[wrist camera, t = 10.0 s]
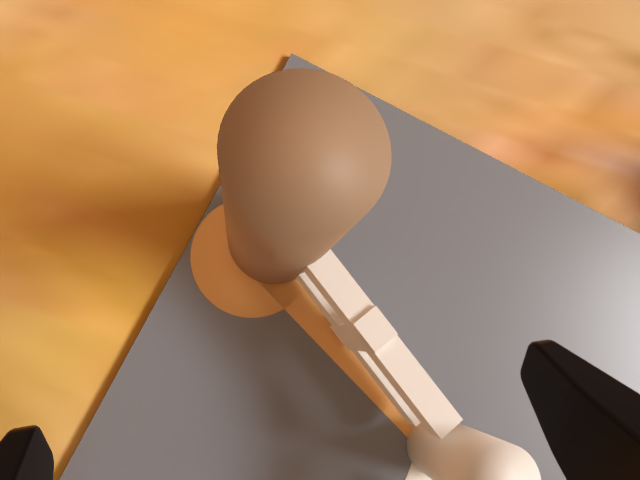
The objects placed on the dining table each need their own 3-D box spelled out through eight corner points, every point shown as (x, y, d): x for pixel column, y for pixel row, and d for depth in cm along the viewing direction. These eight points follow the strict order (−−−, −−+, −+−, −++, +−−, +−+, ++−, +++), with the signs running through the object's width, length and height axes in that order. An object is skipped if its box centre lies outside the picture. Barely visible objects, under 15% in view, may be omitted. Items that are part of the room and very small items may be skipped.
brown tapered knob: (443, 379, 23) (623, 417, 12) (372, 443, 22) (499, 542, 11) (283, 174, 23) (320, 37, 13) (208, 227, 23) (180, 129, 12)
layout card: (556, 892, 21) (561, 901, 20) (-26, 637, 19) (-30, 642, 19) (729, 283, 26) (736, 282, 26) (291, 56, 25) (291, 52, 25)
